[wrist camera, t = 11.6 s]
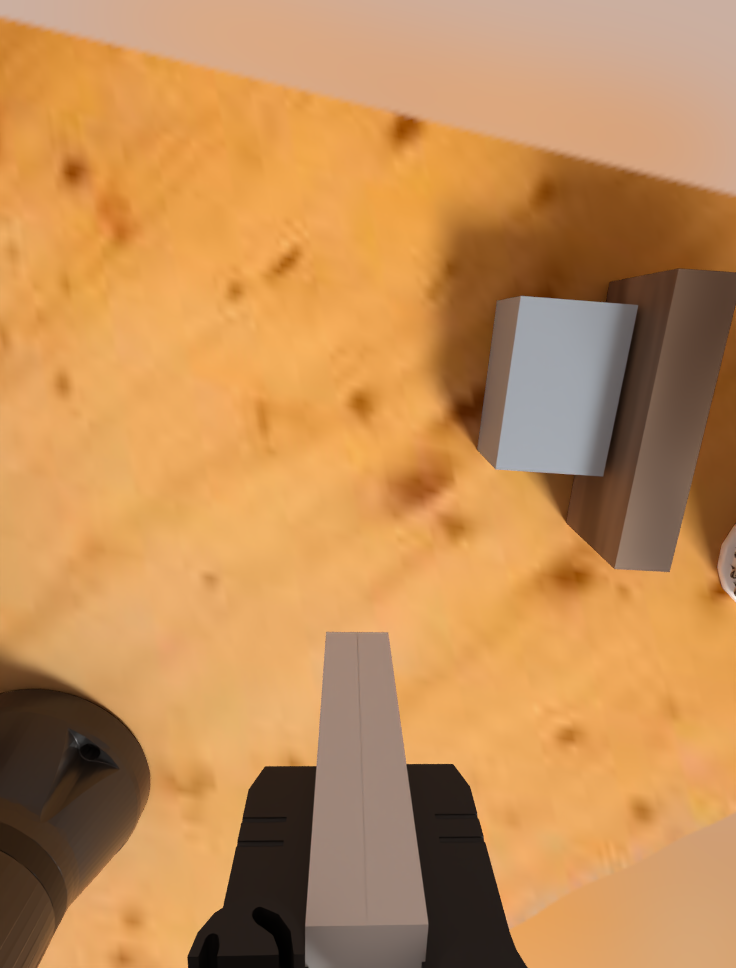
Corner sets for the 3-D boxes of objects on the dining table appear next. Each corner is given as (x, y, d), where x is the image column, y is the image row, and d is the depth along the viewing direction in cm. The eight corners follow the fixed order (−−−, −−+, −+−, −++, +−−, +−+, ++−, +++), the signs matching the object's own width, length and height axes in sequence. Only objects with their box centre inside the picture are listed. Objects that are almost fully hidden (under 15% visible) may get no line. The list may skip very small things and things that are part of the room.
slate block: (476, 449, 34) (495, 469, 29) (496, 300, 31) (520, 295, 26) (568, 455, 34) (603, 476, 29) (595, 308, 31) (638, 304, 26)
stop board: (566, 522, 35) (614, 568, 28) (609, 282, 31) (678, 268, 24) (610, 525, 35) (669, 571, 28) (660, 285, 31) (743, 273, 24)
